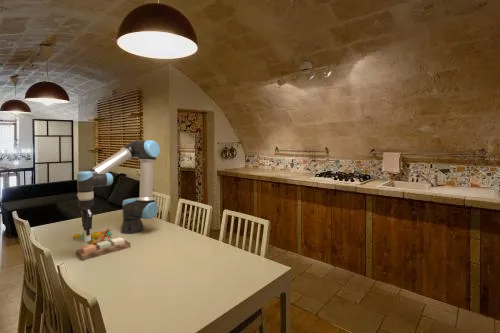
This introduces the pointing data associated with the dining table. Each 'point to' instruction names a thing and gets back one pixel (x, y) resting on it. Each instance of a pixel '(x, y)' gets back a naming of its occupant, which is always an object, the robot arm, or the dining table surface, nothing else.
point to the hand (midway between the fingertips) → (87, 240)
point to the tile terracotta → (88, 248)
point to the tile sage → (103, 244)
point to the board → (102, 251)
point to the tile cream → (117, 241)
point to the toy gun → (95, 236)
